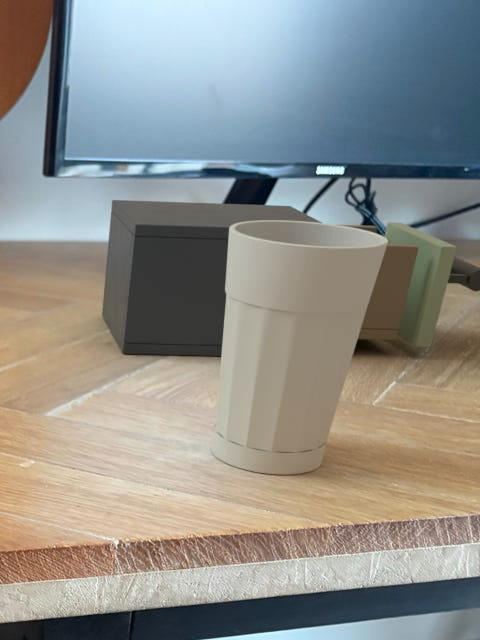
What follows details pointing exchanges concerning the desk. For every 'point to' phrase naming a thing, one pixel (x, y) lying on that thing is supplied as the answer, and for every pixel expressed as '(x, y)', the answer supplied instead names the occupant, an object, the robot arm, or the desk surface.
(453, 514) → the desk surface
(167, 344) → the cabinet
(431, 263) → the drawer
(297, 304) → the cup
